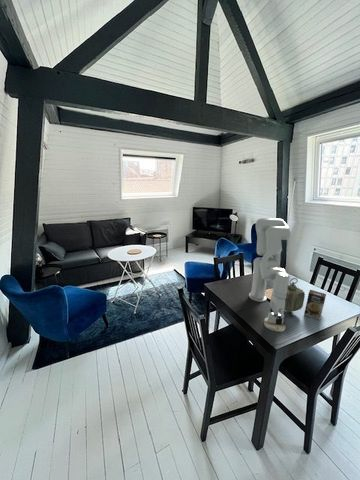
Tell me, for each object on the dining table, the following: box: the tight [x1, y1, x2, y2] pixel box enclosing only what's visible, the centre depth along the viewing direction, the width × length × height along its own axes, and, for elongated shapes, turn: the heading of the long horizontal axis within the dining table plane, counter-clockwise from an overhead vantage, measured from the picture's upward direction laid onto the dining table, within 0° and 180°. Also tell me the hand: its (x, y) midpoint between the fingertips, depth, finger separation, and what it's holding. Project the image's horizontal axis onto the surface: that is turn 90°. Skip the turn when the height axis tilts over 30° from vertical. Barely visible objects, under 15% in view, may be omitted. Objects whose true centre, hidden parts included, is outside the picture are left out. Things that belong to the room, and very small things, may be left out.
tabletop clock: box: [284, 277, 306, 316], centre depth 134 cm, size 14×9×25 cm, turn 113°
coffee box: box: [303, 289, 327, 321], centre depth 133 cm, size 9×6×16 cm
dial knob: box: [267, 311, 286, 325], centre depth 124 cm, size 10×2×6 cm, turn 76°
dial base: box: [263, 316, 287, 333], centre depth 125 cm, size 12×12×2 cm
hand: (275, 319), depth 124 cm, fingers open, 9 cm apart
